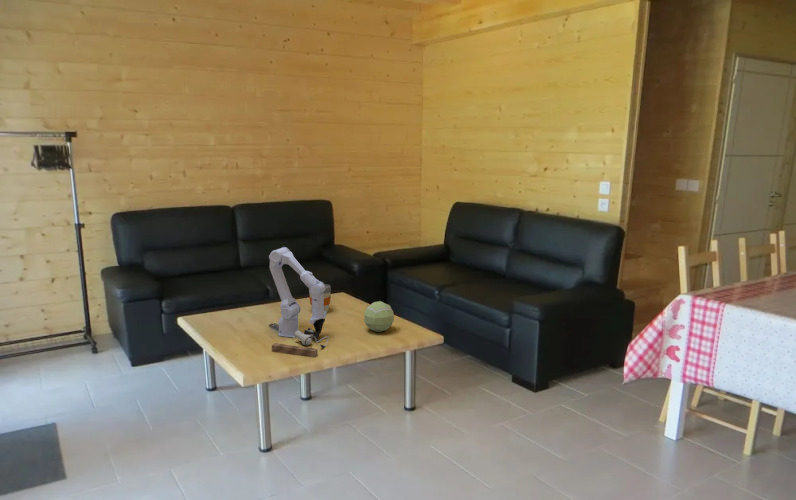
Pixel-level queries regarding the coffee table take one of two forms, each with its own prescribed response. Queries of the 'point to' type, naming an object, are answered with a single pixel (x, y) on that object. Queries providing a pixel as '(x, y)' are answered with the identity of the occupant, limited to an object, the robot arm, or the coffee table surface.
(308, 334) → the clip-on lamp
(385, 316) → the decorative sphere
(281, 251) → the robot arm
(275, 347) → the bar
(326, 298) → the reusable coffee cup
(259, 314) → the coffee table surface
